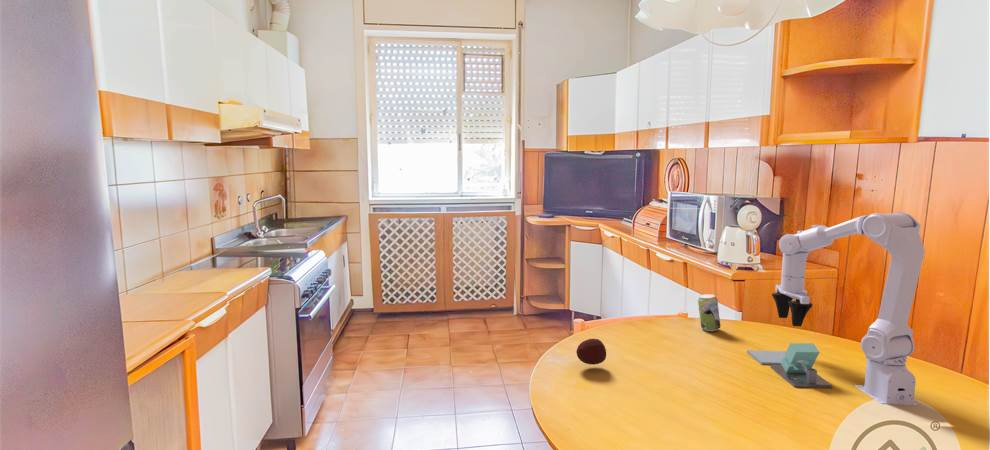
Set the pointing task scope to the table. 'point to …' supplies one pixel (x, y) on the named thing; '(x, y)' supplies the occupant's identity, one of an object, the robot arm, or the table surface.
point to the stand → (802, 376)
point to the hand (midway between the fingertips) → (789, 321)
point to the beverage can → (709, 312)
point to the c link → (799, 356)
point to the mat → (768, 356)
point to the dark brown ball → (591, 351)
